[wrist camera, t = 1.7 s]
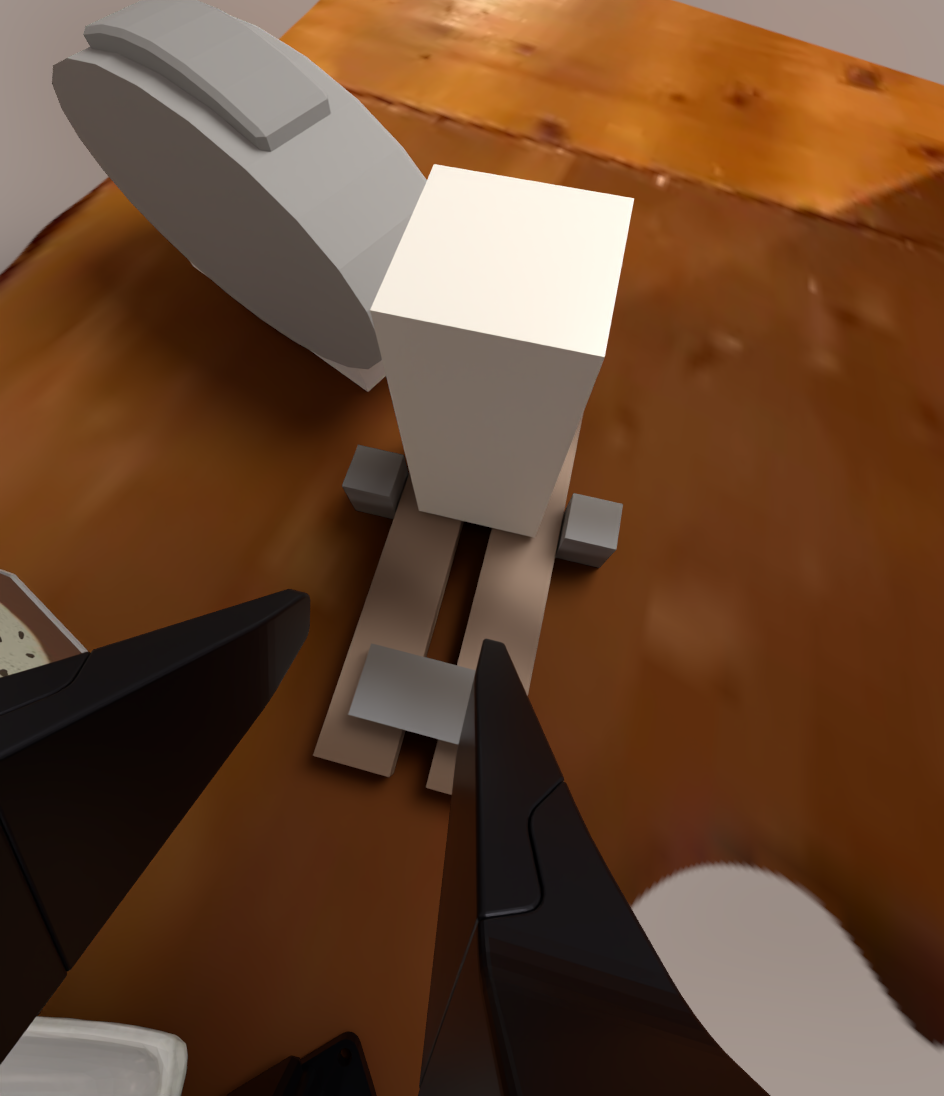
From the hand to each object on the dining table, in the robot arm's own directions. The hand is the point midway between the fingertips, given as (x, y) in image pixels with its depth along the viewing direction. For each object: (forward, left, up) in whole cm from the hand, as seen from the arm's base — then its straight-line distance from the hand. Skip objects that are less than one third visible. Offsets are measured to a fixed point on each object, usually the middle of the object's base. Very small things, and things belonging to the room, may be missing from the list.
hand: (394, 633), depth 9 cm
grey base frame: (+7, -6, -13) cm, 16 cm away
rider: (+8, -7, -12) cm, 16 cm away
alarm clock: (+26, -2, -13) cm, 29 cm away
